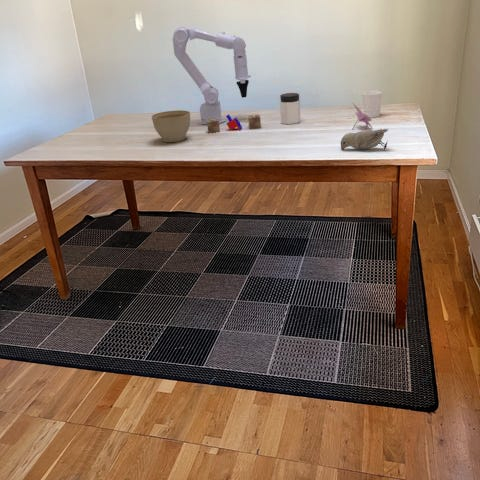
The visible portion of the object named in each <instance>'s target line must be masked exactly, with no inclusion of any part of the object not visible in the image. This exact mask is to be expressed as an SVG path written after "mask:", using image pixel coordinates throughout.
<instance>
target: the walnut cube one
mask: <svg viewBox="0 0 480 480" xmlns="http://www.w3.org/2000/svg"><path fill="white" fill-rule="evenodd" d="M247 118H248V128H249V130H258V129H259V130H260V129H262V123H261V115H260V114H252V115H247Z"/></svg>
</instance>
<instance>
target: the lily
mask: <svg viewBox="0 0 480 480" xmlns="http://www.w3.org/2000/svg"><path fill="white" fill-rule="evenodd" d="M351 104H352V105H353V106H354V108H355V109H356V111H357V112H355V115H356V116H357V120H356V121H355V123H354V124H353V127H352V131H353V130H354V128H355V126H356V124H357V123H358V122H362V123H365V125H366V126H369V127H370V128H371V129H373V126H372V125H371V124H370V122H372V118H370V117H369V116H367V115H366V114H364V112H363V111H362V110H361V109H360V108H359V107H358V106H357V105H356V104H355V103H353V102H352V103H351Z"/></svg>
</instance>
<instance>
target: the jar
mask: <svg viewBox="0 0 480 480" xmlns="http://www.w3.org/2000/svg"><path fill="white" fill-rule="evenodd" d="M279 98H280V101H279V109H280V110H279V111H280V123H281V124H284V125H295V124H299V123H300V122H301V100H300V94H299V93H298V92H287V93H282V94H280V97H279Z"/></svg>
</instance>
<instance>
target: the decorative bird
mask: <svg viewBox="0 0 480 480" xmlns="http://www.w3.org/2000/svg"><path fill="white" fill-rule="evenodd" d="M388 131H389V128H384V129H382V128H380V129H377V130H363V131H357V132H349V133H345V134H344V135H343V136H342V138H341V140H340V150H341V151H342V150H344V149H346V148H348V147H351V148H353V149H355V150H367V149H373V148H375V147H377V146H378V145H381V146H382V147H383V151H385V149H386V148H387V145H388V144H389V143H388V142H389V140H387V141H386V142H385V143H384V142H383V141H382V139H383V137H384V135H385V133H387V132H388Z"/></svg>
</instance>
